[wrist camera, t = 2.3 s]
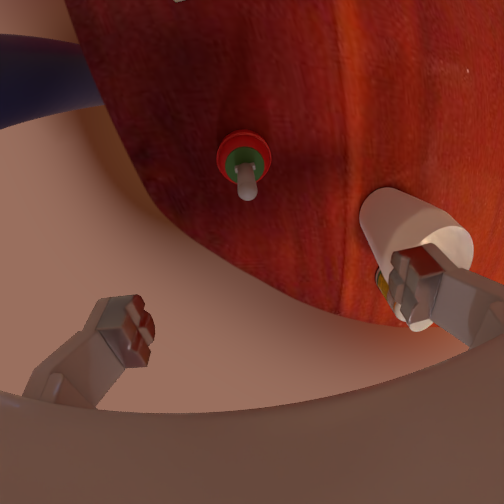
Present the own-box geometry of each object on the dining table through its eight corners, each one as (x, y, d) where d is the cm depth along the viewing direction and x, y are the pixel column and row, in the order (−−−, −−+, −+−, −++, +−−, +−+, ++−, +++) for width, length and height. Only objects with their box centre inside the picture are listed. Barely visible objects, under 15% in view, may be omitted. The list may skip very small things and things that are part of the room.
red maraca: (223, 181, 28) (215, 238, 18) (213, 134, 26) (196, 162, 15) (272, 173, 28) (294, 224, 18) (264, 125, 26) (284, 146, 15)
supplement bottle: (371, 290, 37) (399, 340, 29) (377, 257, 34) (411, 306, 26) (404, 284, 37) (435, 330, 29) (411, 252, 34) (448, 297, 26)
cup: (404, 164, 28) (472, 206, 18) (420, 227, 32) (474, 281, 22) (338, 197, 30) (386, 255, 20) (361, 258, 34) (402, 325, 24)
